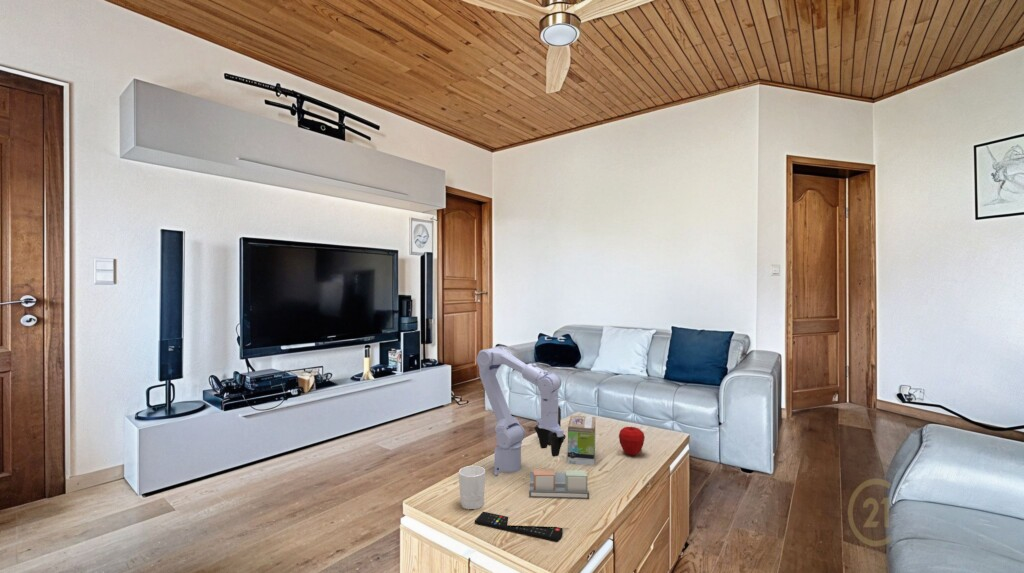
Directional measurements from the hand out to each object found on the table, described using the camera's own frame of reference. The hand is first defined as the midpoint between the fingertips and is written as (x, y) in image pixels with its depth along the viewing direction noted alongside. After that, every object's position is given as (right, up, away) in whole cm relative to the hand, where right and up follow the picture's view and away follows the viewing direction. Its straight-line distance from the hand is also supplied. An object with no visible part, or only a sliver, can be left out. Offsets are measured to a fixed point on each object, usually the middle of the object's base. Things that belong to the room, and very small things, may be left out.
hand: (549, 451), depth 144 cm
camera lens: (+4, -11, +38) cm, 40 cm away
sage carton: (+8, -9, -9) cm, 15 cm away
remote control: (-11, -11, -27) cm, 31 cm away
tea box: (+14, -11, +19) cm, 26 cm away
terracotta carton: (-2, -9, -9) cm, 13 cm away
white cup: (-24, -10, -14) cm, 30 cm away
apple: (+34, -11, +25) cm, 44 cm away
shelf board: (+2, -10, -4) cm, 11 cm away
